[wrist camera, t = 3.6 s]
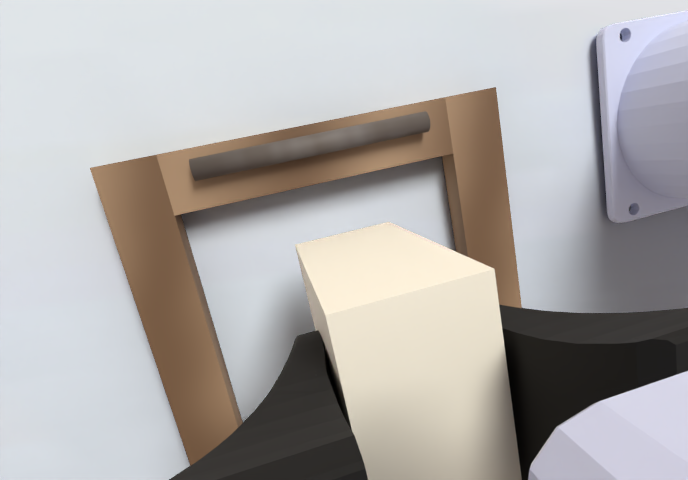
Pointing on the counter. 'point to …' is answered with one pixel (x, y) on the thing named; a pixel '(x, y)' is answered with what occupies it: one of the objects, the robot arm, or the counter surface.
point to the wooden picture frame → (277, 176)
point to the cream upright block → (414, 354)
